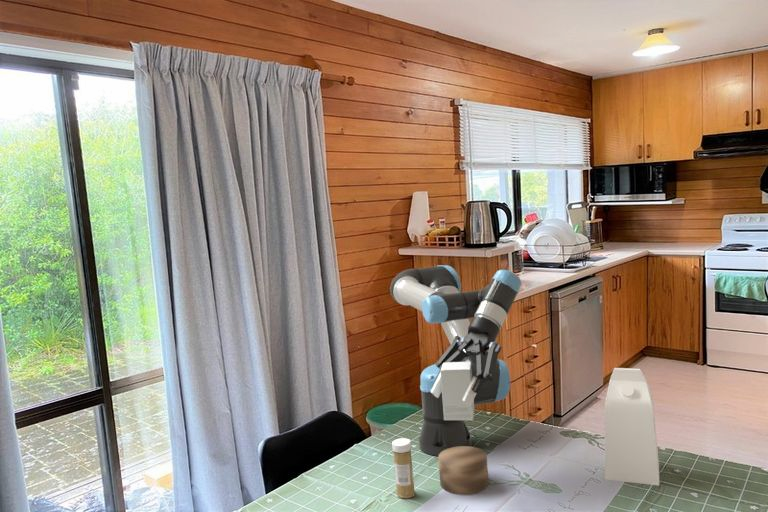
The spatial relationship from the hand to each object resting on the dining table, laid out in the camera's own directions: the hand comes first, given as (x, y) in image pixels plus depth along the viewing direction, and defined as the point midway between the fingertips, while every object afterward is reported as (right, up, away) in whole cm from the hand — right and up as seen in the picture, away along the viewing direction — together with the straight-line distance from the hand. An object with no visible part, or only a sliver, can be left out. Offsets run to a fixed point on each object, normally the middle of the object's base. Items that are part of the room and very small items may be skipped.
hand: (449, 399), depth 140 cm
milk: (+45, -19, +2) cm, 49 cm away
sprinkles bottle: (-11, -24, 0) cm, 26 cm away
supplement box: (+3, -5, +2) cm, 6 cm away
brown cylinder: (+4, -22, +4) cm, 23 cm away
